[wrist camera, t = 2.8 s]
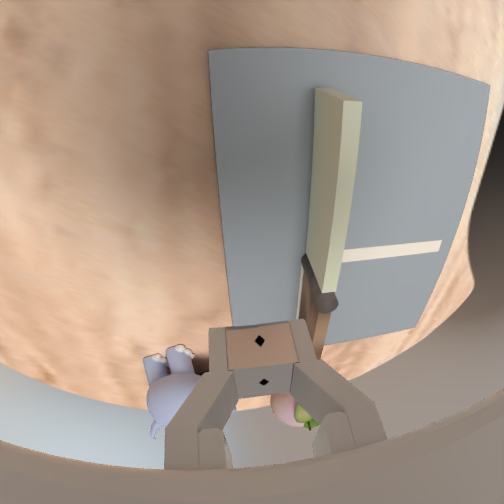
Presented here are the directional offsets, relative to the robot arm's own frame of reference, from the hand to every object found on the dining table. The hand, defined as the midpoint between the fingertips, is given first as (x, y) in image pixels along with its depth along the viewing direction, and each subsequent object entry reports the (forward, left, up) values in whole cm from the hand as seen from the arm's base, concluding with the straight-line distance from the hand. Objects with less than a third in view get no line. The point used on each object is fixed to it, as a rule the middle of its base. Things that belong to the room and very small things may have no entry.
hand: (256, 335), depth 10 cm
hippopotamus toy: (+28, -7, -17) cm, 34 cm away
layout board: (+9, +12, -17) cm, 22 cm away
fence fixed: (+18, +7, -16) cm, 25 cm away
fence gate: (+2, +7, -16) cm, 18 cm away
